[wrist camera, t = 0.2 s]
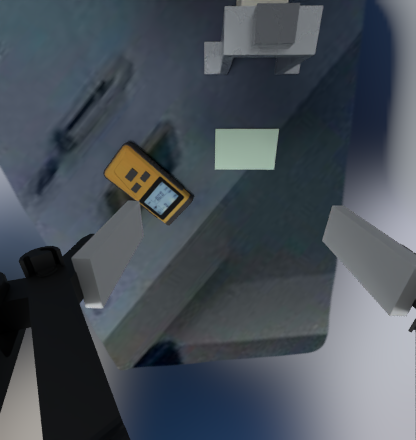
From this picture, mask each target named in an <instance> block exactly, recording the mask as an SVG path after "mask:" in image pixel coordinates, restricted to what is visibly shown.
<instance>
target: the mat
mask: <svg viewBox="0 0 416 440" xmlns="http://www.w3.org/2000/svg"><path fill="white" fill-rule="evenodd" d="M278 133H279V129H216V134H215V169H272V170H274V164H275V156H276V148H277V141H278Z"/></svg>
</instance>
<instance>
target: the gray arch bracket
mask: <svg viewBox="0 0 416 440" xmlns="http://www.w3.org/2000/svg"><path fill="white" fill-rule="evenodd" d="M322 10H323V6H300V3H257V5H256V6H225V9H224V17H223V25H222V34H221V42H204V61H205V75H227V74H228V71H229V69H230V66H231V63H232V61H233V58H255V57H276V64H275V73H274V75H289V74H299V69H300V63H302V62H303V61H305V60H307V59H308V58H310V57H312V56H313V55H315V51H316V45H317V39H318V34H319V28H320V22H321V16H322Z"/></svg>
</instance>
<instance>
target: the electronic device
mask: <svg viewBox="0 0 416 440" xmlns="http://www.w3.org/2000/svg"><path fill="white" fill-rule="evenodd" d="M104 176H105V178H107V179H108V180H109V181H110V182H112V183H113V184H114V185H115V186H117V187H118V188H119V189H121V190H122V191H123V192H124V193H126V194H127V195H128V196H130V197H131V198H132V199H133V200H135V201H139V202H140V205H141V206H142V207H144V208H145V209H146V210H147V211H149V212H150V213H151V214H153V215H154V216H155V217H157V218H159V219H160V220H162V221H163V222H164V223H165V224H167V225H170V224H171V223H172V222H173V221H174V220H175V219H176V218H177V217H178V216H179V215H180V214H181V213H182V212H183V211H184V210H185V209H186V208H187V206H188V205H189V204H190V203H191V202H192V201H193V196H192V195H191V194H189V193H188V192H187V191H186V190H185V189H184V187H183V186H181V185H180V184H179V183H178V182H177V181H176V180H175V179H173V177H171V176H170V174H168V173H167V172H166V171H164V169H162V168H161V166H158V165H157V163H155V162H154V161H153V160H152V159H151V158H149V157H148V155H146V154H145V153H144V152H142V151H141V150H140V149H139V148H138V147H137V146H135V145H134V144H133V143H131V142H130V143H125V144H123V145H122V147H121V148H120V149H119V151H118V152H117V153H116V155H115V156H114V158H113V159H112V160H111V162H110V163H109V165H108V166H107V167H106V169H105V170H104Z"/></svg>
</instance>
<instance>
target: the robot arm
mask: <svg viewBox="0 0 416 440" xmlns="http://www.w3.org/2000/svg"><path fill="white" fill-rule="evenodd" d="M143 236H144V235H143V227H142V219H141V211H140V202H139V201H127V202H126V203H125V204H124V205H123V206H122V207H121V208H120V209H119V210H118V211H117V212H116V213H115V214H114V215H113V216H112V217H111V218H110V219H109V220H108V221H107V222H106V223H105V224H104V225H103V227H102V228H101V229H100V230H99V231H98V232H97V233H96V234H89V235H87V236H85V237H83V238H82V239H81V240H80V241H78V242H77V243H76V245H74V246H73V247H72V248H71V250H69V251H68V252H67V253H66V254H65V255H64V256H62V254H61V251H60V249H59V248H58V247H55V246H45V247H40V248H37V249H34V250H31V251H29V252H28V253H25V254H24V255H23V256H22V257H20V260H19V263H20V265H21V268H22V270H23V272H24V274H25V277H26V278H23V279H17V280H11V281H7V279H6V276H5V275H4V274H3V273H1V272H0V412H1V409H2V405H3V402H4V399H5V396H6V392H7V389H8V386H9V382H10V379H11V376H12V373H13V369H14V366H15V363H16V360H17V356H18V353H19V350H20V346H21V343H22V340H23V337H24V334H25V330H26V328H29V327H31V329H32V338H33V347H34V357H35V366H36V377H37V386H38V395H39V405H40V415H41V424H42V434H43V440H130V438H129V435H128V433H127V430H126V428H125V426H124V424H123V421H122V419H121V416H120V413H119V411H118V408H117V405H116V403H115V400H114V397H113V394H112V392H111V389H110V387H109V384H108V381H107V378H106V375H105V373H104V370H103V367H102V364H101V362H100V359H99V356H98V354H97V351H96V348H95V345H94V343H93V340H92V337H91V334H90V332H89V329H88V326H87V324H86V321H85V318H84V315H83V313H82V310H81V307H80V302H81V301H82V299H84V302H85V305H86V308H103V307H104V305H105V304H106V302H107V300H108V298H109V296H110V295H111V293H112V291H113V289H114V288H115V286H116V284H117V282H118V281H119V279H120V277H121V275H122V274H123V272H124V270H125V268H126V266H127V265H128V263H129V261H130V259H131V258H132V256H133V254H134V252H135V251H136V249H137V247H138V245H139V244H140V242H141V240H142V238H143ZM322 241H323V242H324V243H325V244H326V245H327V246H328V247H329V249H330V250H331V251H332V252H333V253H334V254H335V255H336V256H337V258H338V259H339V260H340V261H341V262H342V263H343V264H344V265H345V266H346V268H347V269H348V270H349V271H350V272H351V273H352V274H353V275H354V277H356V279H357V280H358V281H359V282H360V283H361V284H362V285H363V287H364V288H365V289H366V290H367V291H368V292H369V293H370V294H371V295H372V297H374V299H375V300H376V301H377V302H378V303H379V304H380V305H381V307H382V308H383V309H384V310H385V311H386V312H387V313H388V315H389V316H407V314H408V313H409V311H410V309H411V307H412V306H413V307H414V308H416V253H413V251H411V250H410V249H408V248H407V247H405V246H403V245H401V244H399V243H398V242H397V241H395V240H394V239H392V238H390V237H389V236H388V235H386V234H385V233H383V232H382V231H380V230H378V229H377V228H376V227H374V226H373V225H371V224H370V223H368V222H367V221H365V220H364V219H362V218H361V217H359V216H358V215H356V214H355V213H354V212H352V211H350V210H349V209H348V208H346V207H345V206H332V209H331V212H330V216H329V219H328V223H327V226H326V230H325V233H324V237H323V240H322ZM413 330H416V319H415V320H414V322H413V324H412V325H411V327H410V329H409V331H410V332H412V331H413Z"/></svg>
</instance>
